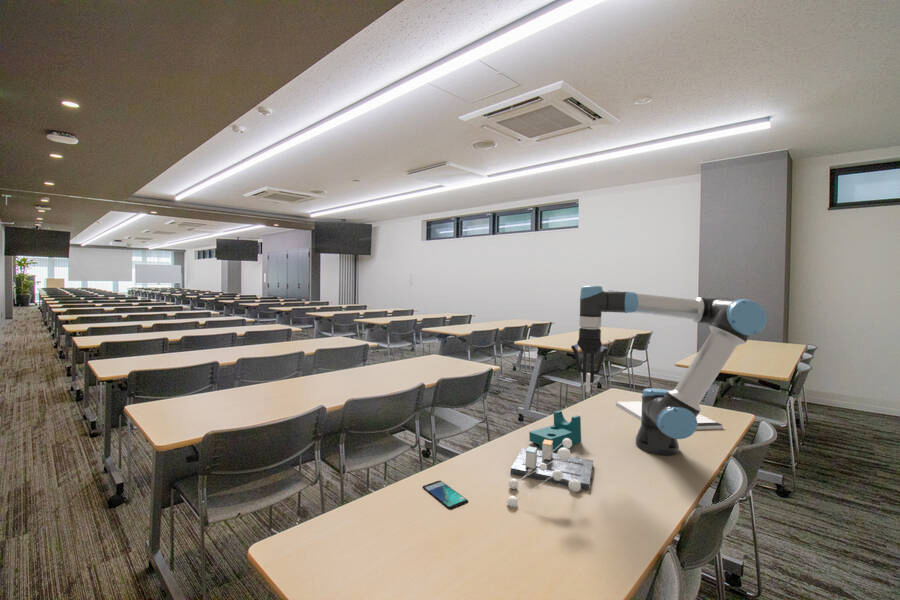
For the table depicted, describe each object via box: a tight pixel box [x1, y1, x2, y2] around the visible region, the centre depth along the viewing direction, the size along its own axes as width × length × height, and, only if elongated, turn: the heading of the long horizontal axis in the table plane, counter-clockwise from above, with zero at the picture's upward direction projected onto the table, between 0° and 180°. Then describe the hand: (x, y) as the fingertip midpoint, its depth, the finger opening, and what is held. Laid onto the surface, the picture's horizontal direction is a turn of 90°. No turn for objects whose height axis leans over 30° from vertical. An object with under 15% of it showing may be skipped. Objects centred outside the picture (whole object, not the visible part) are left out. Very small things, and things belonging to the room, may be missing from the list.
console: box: [510, 446, 594, 491], centre depth 136 cm, size 25×18×2 cm
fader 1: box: [525, 446, 538, 468], centre depth 134 cm, size 3×4×5 cm
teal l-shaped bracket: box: [528, 410, 582, 453], centre depth 158 cm, size 18×11×10 cm, turn 124°
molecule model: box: [507, 438, 582, 508], centre depth 119 cm, size 14×25×18 cm, turn 98°
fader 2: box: [541, 439, 554, 460], centre depth 140 cm, size 3×4×5 cm
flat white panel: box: [615, 400, 724, 430], centre depth 192 cm, size 35×2×31 cm
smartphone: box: [422, 480, 469, 510], centre depth 119 cm, size 7×1×15 cm
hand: (587, 391), depth 146 cm, fingers closed
